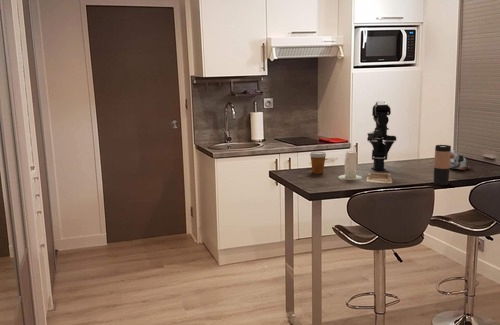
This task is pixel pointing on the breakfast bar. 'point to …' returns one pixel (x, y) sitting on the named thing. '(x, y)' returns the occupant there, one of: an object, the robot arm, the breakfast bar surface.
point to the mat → (349, 178)
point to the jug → (350, 164)
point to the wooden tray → (379, 178)
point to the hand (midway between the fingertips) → (381, 153)
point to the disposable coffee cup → (317, 162)
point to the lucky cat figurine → (458, 161)
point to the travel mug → (442, 164)
